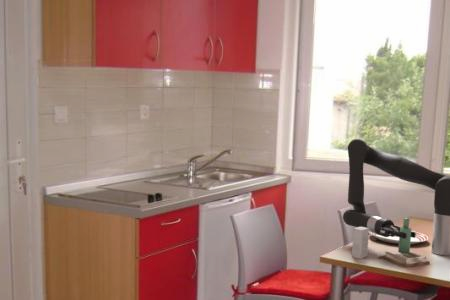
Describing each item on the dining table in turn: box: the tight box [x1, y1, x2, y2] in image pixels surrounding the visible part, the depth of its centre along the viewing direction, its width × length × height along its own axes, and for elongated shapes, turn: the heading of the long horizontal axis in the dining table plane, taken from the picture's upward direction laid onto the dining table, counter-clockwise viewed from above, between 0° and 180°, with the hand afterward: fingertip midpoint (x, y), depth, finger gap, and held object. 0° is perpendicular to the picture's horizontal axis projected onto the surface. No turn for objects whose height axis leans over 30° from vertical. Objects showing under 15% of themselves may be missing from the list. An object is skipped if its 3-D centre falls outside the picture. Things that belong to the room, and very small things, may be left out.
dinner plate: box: [369, 230, 429, 245], centre depth 281 cm, size 27×27×3 cm
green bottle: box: [397, 217, 412, 254], centre depth 242 cm, size 4×4×14 cm
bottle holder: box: [378, 251, 431, 268], centre depth 243 cm, size 14×14×3 cm
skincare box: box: [351, 227, 370, 260], centre depth 247 cm, size 6×4×12 cm
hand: (410, 235), depth 240 cm, fingers closed on green bottle, 4 cm apart
